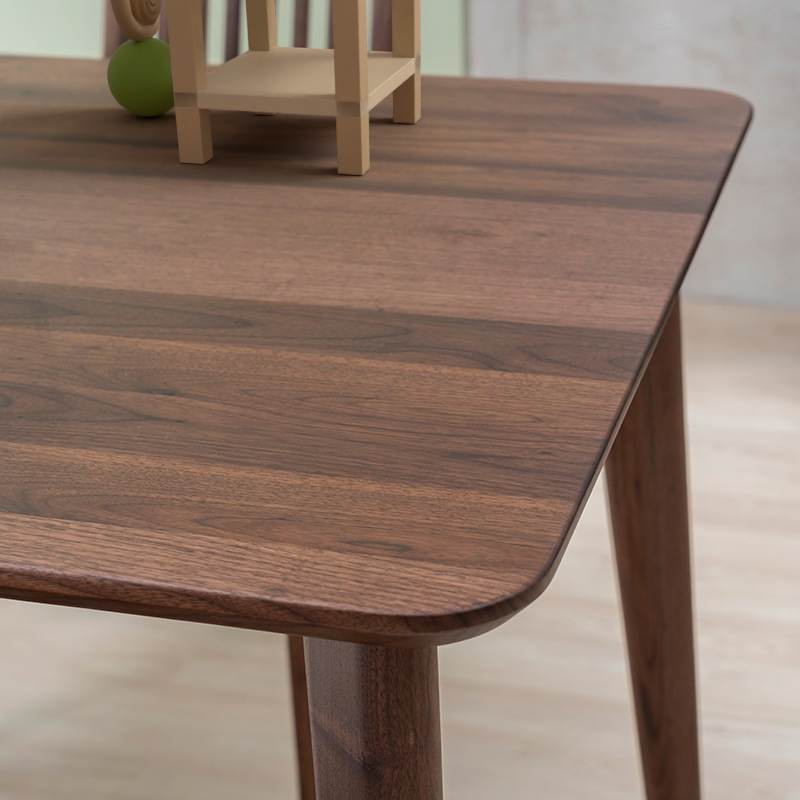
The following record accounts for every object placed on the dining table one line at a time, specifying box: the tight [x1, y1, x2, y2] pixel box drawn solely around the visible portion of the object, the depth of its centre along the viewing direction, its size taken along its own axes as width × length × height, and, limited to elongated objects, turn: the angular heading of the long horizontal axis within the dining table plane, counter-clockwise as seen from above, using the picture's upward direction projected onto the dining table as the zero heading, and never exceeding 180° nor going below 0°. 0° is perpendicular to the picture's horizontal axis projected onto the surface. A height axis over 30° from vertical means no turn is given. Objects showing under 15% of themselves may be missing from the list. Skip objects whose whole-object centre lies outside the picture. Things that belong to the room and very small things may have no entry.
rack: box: [164, 0, 422, 176], centre depth 81 cm, size 12×14×12 cm
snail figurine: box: [106, 0, 175, 117], centre depth 86 cm, size 5×6×12 cm
